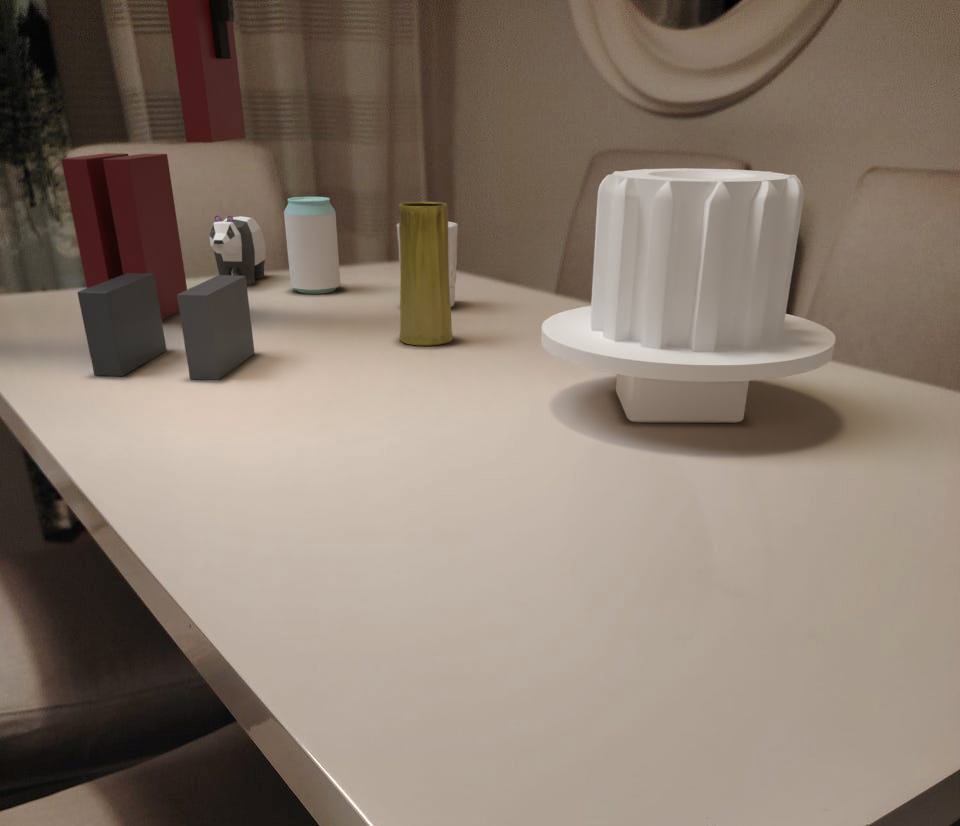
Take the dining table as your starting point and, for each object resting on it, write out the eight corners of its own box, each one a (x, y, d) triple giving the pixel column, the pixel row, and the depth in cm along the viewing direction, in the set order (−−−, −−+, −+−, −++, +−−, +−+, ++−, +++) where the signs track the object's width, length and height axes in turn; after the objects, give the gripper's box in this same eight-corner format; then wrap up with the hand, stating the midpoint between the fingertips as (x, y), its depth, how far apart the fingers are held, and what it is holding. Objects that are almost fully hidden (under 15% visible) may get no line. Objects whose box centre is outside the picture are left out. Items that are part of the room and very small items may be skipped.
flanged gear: (546, 451, 74) (556, 188, 65) (533, 370, 96) (539, 163, 86) (861, 452, 74) (918, 188, 65) (777, 371, 96) (810, 164, 86)
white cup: (468, 302, 127) (468, 222, 122) (442, 313, 121) (440, 229, 115) (417, 298, 130) (414, 219, 125) (389, 308, 123) (385, 226, 118)
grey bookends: (94, 375, 94) (76, 291, 90) (141, 349, 103) (127, 272, 99) (218, 379, 93) (207, 295, 89) (254, 353, 102) (245, 275, 98)
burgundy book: (186, 142, 103) (157, -61, 94) (221, 138, 113) (199, -47, 104) (212, 142, 103) (186, -61, 94) (246, 138, 112) (225, -47, 103)
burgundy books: (93, 322, 116) (60, 158, 107) (132, 304, 125) (105, 153, 116) (155, 323, 115) (127, 159, 106) (189, 306, 124) (167, 153, 115)
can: (343, 293, 132) (336, 200, 126) (292, 295, 131) (284, 201, 125) (338, 284, 138) (331, 195, 132) (289, 286, 137) (281, 196, 131)
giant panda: (235, 274, 146) (227, 207, 141) (270, 274, 146) (263, 207, 141) (205, 291, 134) (195, 218, 129) (243, 292, 133) (234, 218, 128)
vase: (463, 340, 108) (463, 204, 100) (423, 349, 104) (420, 208, 97) (428, 331, 111) (425, 199, 104) (388, 340, 108) (382, 203, 100)
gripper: (263, -216, 94) (287, 59, 106) (111, -210, 96) (152, 59, 108) (238, -238, 88) (266, 57, 100) (75, -232, 90) (122, 57, 101)
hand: (207, 57), depth 104 cm, fingers closed on burgundy book, 3 cm apart
